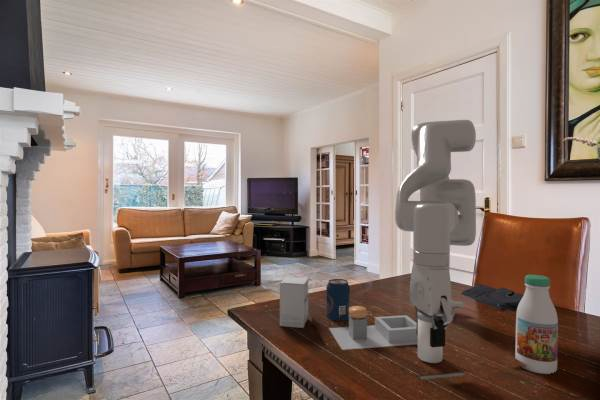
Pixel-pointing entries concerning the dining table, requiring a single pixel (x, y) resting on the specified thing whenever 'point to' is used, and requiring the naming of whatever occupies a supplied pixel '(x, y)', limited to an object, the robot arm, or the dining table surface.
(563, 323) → the dining table surface
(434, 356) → the cartridge
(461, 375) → the mat
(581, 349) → the dining table surface
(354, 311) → the brown egg
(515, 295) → the dark slate chunk
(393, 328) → the housing
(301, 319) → the supplement box
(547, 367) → the milk bottle
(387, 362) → the dining table surface
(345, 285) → the soda can
